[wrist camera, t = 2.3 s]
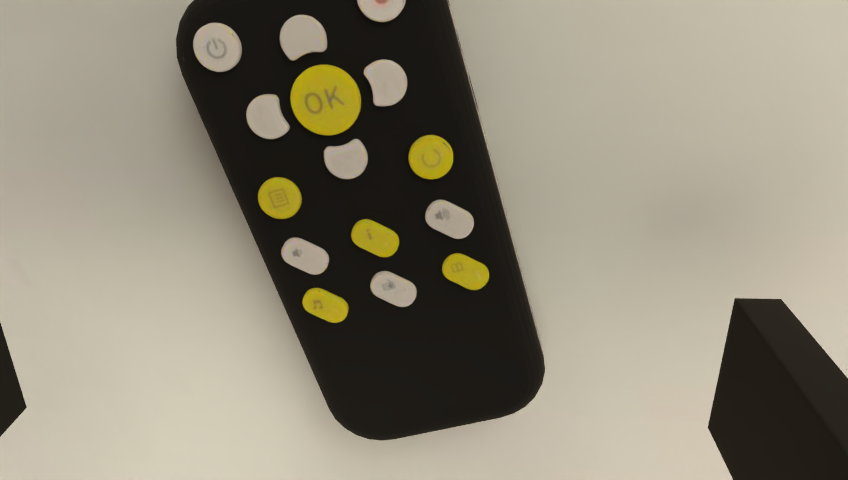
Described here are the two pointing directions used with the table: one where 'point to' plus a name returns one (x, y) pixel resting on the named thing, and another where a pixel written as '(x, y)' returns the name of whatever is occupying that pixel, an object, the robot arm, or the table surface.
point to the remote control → (370, 203)
